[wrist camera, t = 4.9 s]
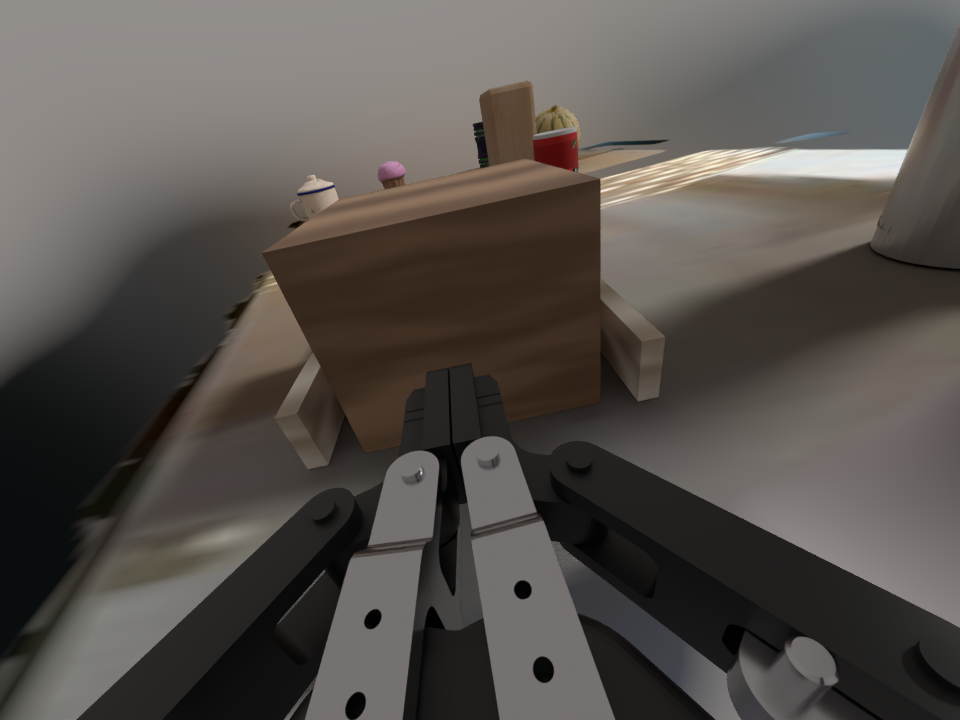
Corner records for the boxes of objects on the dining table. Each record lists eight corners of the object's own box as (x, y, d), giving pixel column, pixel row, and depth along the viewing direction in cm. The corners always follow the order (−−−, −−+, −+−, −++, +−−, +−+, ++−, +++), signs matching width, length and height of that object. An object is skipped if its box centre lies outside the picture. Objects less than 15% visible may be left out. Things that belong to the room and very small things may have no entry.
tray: (658, 397, 20) (667, 319, 18) (308, 469, 21) (264, 403, 18) (515, 224, 58) (511, 191, 56) (392, 251, 59) (382, 219, 56)
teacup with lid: (345, 218, 98) (328, 171, 92) (349, 222, 91) (330, 171, 85) (300, 230, 95) (279, 182, 89) (300, 235, 88) (277, 183, 82)
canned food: (583, 194, 68) (582, 126, 62) (541, 203, 69) (535, 136, 63) (573, 188, 74) (571, 126, 68) (535, 196, 75) (529, 135, 69)
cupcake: (415, 190, 121) (406, 157, 116) (400, 196, 115) (390, 161, 109) (394, 193, 125) (385, 161, 119) (379, 199, 119) (368, 165, 113)
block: (500, 195, 83) (485, 89, 72) (492, 190, 92) (477, 94, 81) (542, 186, 84) (533, 79, 73) (530, 182, 92) (520, 85, 81)
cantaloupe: (560, 162, 113) (556, 104, 105) (592, 161, 102) (591, 96, 94) (520, 173, 109) (513, 114, 101) (549, 173, 97) (544, 107, 89)
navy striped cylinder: (492, 166, 139) (486, 121, 131) (512, 164, 132) (506, 116, 124) (474, 172, 133) (466, 125, 125) (494, 170, 127) (487, 120, 119)
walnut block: (600, 404, 21) (600, 178, 15) (366, 454, 21) (261, 252, 15) (540, 307, 33) (525, 158, 26) (390, 339, 33) (338, 199, 26)
